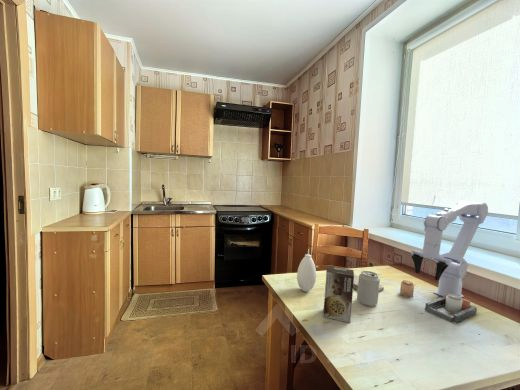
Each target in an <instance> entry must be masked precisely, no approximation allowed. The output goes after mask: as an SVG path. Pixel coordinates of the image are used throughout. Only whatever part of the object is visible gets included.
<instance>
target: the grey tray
mask: <svg viewBox="0 0 520 390" xmlns="http://www.w3.org/2000/svg"><path fill="white" fill-rule="evenodd" d="M445 304H446V296H444V297H443V296H442V297H439V298H435V299H434V300H433V299H432V300H431V301H428V302H425V307H424V309H425V310H426V311H427V312H428V313H431V314H434V315H435V316H437V317H440V318H442V319H445V320H447V321H449V322H451V323H454V324H458V323H460V322H462V321H464V320H467V319H468V318H471V317H472V316H475V315H477V311H478V307H477V306H476V305H472V304H470V308H468V309H465V310H463V311H462V310H461V312H459V313H456V314H455V313H453V316H452V315H449V314H447V313H445V312H443V311H440V310H437V308H439V307H441V306H445Z"/></svg>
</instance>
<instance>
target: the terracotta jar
mask: <svg viewBox="0 0 520 390" xmlns="http://www.w3.org/2000/svg"><path fill="white" fill-rule="evenodd" d="M414 292H415V284H414V283H413V282H412V281H410V280H401V281H400V290H399V294H400V295H401V296H403V297H406V298H414Z"/></svg>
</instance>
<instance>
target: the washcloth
mask: <svg viewBox="0 0 520 390" xmlns="http://www.w3.org/2000/svg"><path fill="white" fill-rule="evenodd" d="M358 282H359V275H357V274H355V273H354V283H353V290H356V291H358ZM384 289H385V288H384V286H383V285H381V284H379V293H380V292H382V291H384Z"/></svg>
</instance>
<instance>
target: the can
mask: <svg viewBox="0 0 520 390" xmlns="http://www.w3.org/2000/svg"><path fill="white" fill-rule="evenodd" d="M358 276H359V282H358V290H357V291H356V292H357V293H356V300H357V301H358V303H359V304H360V305H362V306H365V307H371V308H372V307H375V306H376V305H378V301H379V293H380V292H379V285H380V282H381V281H380V280H381V278H379V274H378V273H377V272H374V271H371V270H361V271H360V273H359V275H358Z"/></svg>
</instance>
